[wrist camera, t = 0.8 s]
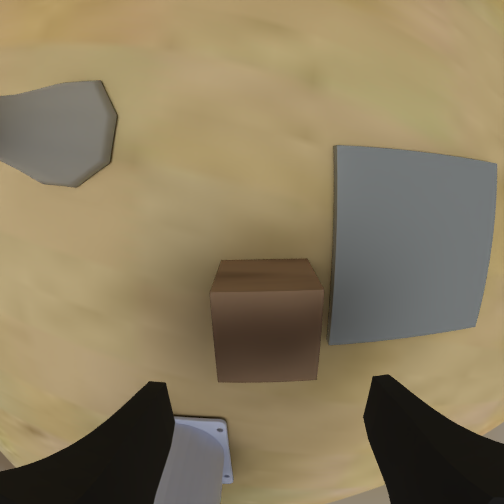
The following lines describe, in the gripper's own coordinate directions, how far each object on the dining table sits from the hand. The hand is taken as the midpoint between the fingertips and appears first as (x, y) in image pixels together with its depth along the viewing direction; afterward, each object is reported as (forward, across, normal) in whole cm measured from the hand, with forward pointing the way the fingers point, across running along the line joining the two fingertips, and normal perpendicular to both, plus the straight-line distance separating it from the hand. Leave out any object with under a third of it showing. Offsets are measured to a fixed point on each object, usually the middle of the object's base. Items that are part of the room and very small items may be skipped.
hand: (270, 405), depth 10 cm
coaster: (+9, -10, -3) cm, 14 cm away
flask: (+10, +12, -11) cm, 19 cm away
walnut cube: (+10, 0, 0) cm, 10 cm away
